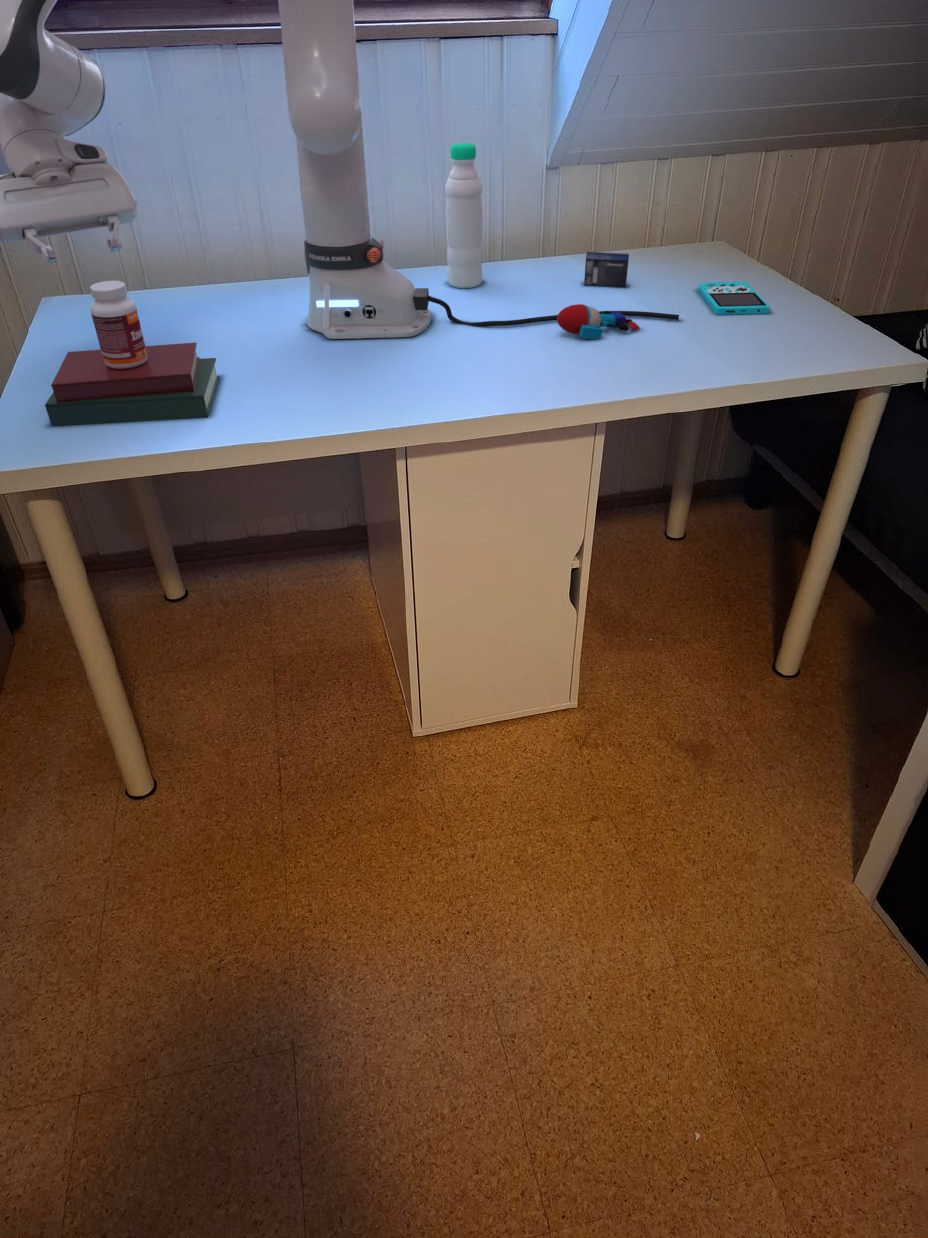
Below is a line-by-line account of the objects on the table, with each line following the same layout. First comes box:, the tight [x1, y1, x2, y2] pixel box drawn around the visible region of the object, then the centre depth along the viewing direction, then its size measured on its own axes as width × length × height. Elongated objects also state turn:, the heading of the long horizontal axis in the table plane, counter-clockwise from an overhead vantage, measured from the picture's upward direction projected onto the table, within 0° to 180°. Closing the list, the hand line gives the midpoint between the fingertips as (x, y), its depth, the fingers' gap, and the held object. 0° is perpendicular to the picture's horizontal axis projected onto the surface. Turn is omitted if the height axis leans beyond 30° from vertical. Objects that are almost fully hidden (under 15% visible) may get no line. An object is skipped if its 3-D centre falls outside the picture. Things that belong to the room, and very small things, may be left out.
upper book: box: [51, 341, 201, 402], centre depth 128 cm, size 19×13×3 cm
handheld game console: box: [697, 280, 771, 316], centre depth 164 cm, size 10×16×1 cm, turn 2°
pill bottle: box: [89, 280, 148, 369], centre depth 124 cm, size 6×6×11 cm
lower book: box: [44, 357, 220, 427], centre depth 130 cm, size 22×15×3 cm
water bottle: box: [444, 142, 483, 289], centre depth 167 cm, size 7×7×25 cm
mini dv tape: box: [583, 251, 630, 289], centre depth 171 cm, size 8×2×6 cm, turn 77°
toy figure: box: [556, 303, 640, 340], centre depth 151 cm, size 8×5×15 cm
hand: (84, 254), depth 125 cm, fingers open, 8 cm apart
